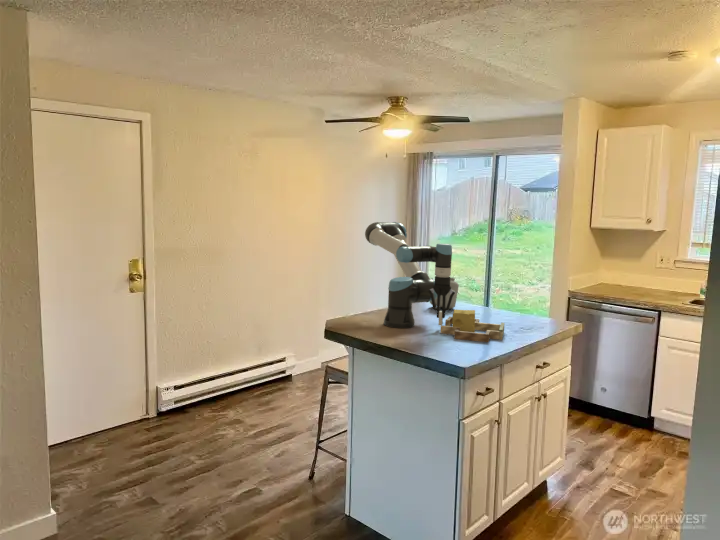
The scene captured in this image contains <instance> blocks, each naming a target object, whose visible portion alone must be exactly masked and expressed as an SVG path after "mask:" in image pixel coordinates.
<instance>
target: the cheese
mask: <svg viewBox="0 0 720 540" xmlns="http://www.w3.org/2000/svg"><path fill="white" fill-rule="evenodd" d="M451 317H452V324H451V326H453V327H461V328H460V331H465V332H475V333H476V330H475V319H476V310H475V309H474V310H473V309H466V310H464V309H454V308H453V312H452V316H451Z"/></svg>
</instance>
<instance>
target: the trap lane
mask: <svg viewBox="0 0 720 540" xmlns="http://www.w3.org/2000/svg"><path fill="white" fill-rule="evenodd" d="M452 317H453V316H448V317H447V319H445V324H444V325H443V324H442V325H440V334H441V335H442V334H443V335H452V336H453V337H454V340H464V341H472V342H481V343H489V342H490V339H493V340H500V341H501V340H503V337H504V333H505V322H501V323H500V324H499V323H488V322H480V319H479V318H475V332H465V331H460V328H461V327H453V326H452ZM476 331H483V332H485V333H483V332H476Z"/></svg>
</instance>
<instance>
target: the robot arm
mask: <svg viewBox="0 0 720 540" xmlns="http://www.w3.org/2000/svg"><path fill="white" fill-rule="evenodd" d="M364 238H365V240H366V241H367V242H368V243H370V244H371V245H372V246H376V247H377V246H378V247H380V248H382V249H384V250H385V251H387V252H389V253H391V254H392V255H393V256H394V258H395V259H396V262H397V263H398V265H399V267H400V268H401V270H402V272H403V274H404V275H405V276H398V277H393V278H391V279H390V281H389V283H388V296H387V297H388V301H387V311H386V314H385V316H384V319H383V325H384V326H387V327H388V328H389V327H390V328H398V329H405V328H406V329H409V328H412V327H415V324H416V323H415V321H416V320H415V318H414V314H413V310H412V307H413V304H416V303H417V304H418V303H430V302H431V301H432V304H431V305H432V309H433V310H434V311H436V318H437V319H438V322H437V324H438V325H437V326H441V325H442V326H443V319H445V318H446V312H448V311H450V309H451V308H450V305H451V302H452V298H453V295H454V294H455V293H456V292H455V291H453V290H452V289H451V287H450V280H451V278H452V277H451V276H452V275H451V274H452V260H453V259H452V256H453V247H452V246H453V245H452V244H450V243H437V244H436V245H435V246H432V245H424V246H411V245H409V244H407V238H408V234H407V229H406V227H405V226H404V224H402V223H400V222H396V221H393V222H389V221H387V222H383V221H382V222H378V221H376V222H373V223H370V224H369V225H368V226H367V227H366V229H365V232H364ZM429 262H431V263H434V264H435V266H434V275H435V276H434V278H433V277H431V278H430V276H429V275H428V274H427V273H426V272H425V271H422V269H421V267H420V265H419V264H418V263H429ZM449 291H450V294H451V295H450V298H449V301H448V304H447V308H446V295H447V294H448V293H449ZM441 295H442V296H443V303H442V307H440V301H441ZM436 298H437V306H436V303H435V299H436Z"/></svg>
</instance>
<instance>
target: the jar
mask: <svg viewBox="0 0 720 540" xmlns="http://www.w3.org/2000/svg"><path fill="white" fill-rule="evenodd" d="M450 278H451V280H450V287H451V289H452V290H453V291H455V292H456V293H455V294H454V295H453V298H452V302H451V305H450V308H449V309H454V308H455V307H456V303H457V297H458V293H459V287H460V286H459V283H458V282H457V281H456V280H455V278H454V277H450ZM450 295H451V294H450V291H449V293H448V294H447V295H446V308H447V304H448V301H449V298H450ZM429 303H430V304H431V305H432V301H431V302H429ZM435 303H436V307H437V298H436V299H435ZM442 303H443V296H442V295H441V301H440V308H442Z"/></svg>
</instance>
